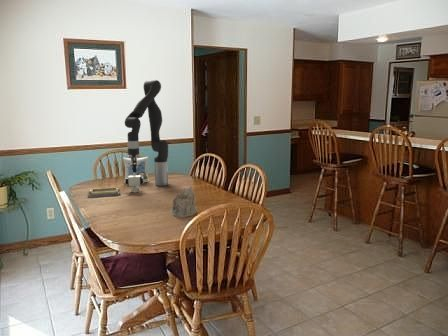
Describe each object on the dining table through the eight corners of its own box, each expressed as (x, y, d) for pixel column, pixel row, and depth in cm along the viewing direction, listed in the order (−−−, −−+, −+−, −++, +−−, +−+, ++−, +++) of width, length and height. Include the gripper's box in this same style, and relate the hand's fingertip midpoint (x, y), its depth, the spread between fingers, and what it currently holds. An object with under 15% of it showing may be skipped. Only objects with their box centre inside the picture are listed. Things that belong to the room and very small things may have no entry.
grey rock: (181, 206, 224) (180, 182, 220) (202, 212, 214) (201, 187, 210) (161, 214, 212) (160, 188, 208) (182, 221, 202) (181, 194, 198)
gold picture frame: (119, 190, 263) (119, 186, 262) (120, 195, 250) (120, 190, 249) (89, 192, 257) (89, 188, 257) (88, 197, 244) (88, 193, 244)
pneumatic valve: (143, 192, 257) (142, 175, 255) (125, 192, 256) (125, 175, 254) (144, 190, 262) (143, 173, 260) (127, 191, 262) (126, 173, 259)
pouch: (124, 182, 289) (122, 156, 286) (149, 180, 293) (148, 155, 289) (123, 184, 282) (122, 157, 278) (149, 183, 285) (148, 156, 282)
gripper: (140, 148, 248) (140, 173, 251) (138, 146, 262) (139, 169, 264) (128, 148, 246) (129, 173, 249) (127, 146, 259) (128, 169, 262)
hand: (134, 171), depth 256 cm, fingers open, 8 cm apart
